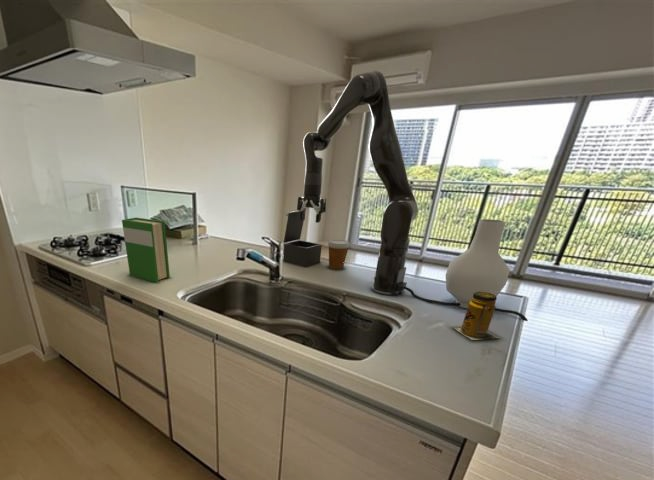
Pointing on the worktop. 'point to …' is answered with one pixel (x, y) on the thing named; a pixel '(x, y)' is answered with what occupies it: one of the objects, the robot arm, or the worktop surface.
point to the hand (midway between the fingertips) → (310, 221)
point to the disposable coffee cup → (337, 253)
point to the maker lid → (293, 226)
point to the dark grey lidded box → (302, 253)
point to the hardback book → (146, 248)
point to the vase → (479, 265)
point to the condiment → (479, 317)
